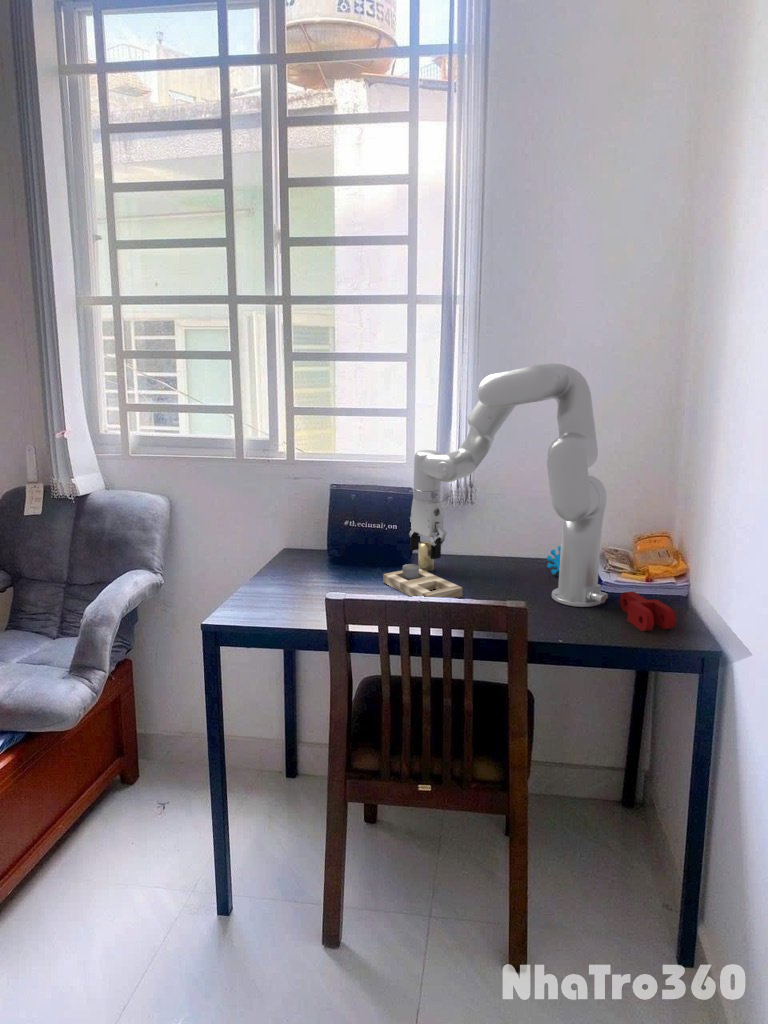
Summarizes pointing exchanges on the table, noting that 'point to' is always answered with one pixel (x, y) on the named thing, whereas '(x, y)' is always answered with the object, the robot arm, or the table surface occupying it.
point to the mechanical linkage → (646, 612)
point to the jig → (421, 583)
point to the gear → (554, 561)
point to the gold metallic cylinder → (425, 556)
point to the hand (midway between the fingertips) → (425, 553)
